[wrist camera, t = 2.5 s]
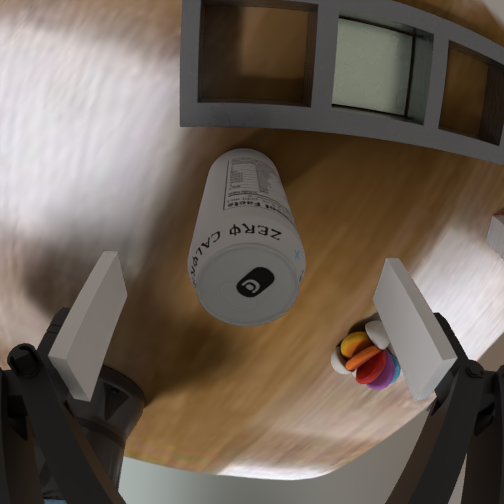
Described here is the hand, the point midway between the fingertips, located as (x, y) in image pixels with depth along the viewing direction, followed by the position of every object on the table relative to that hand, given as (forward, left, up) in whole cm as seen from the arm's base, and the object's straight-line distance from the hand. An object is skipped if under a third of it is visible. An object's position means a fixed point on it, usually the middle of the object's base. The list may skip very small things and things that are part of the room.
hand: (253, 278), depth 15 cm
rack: (+10, +11, -14) cm, 20 cm away
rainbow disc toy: (+17, -22, -15) cm, 31 cm away
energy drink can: (0, 0, -15) cm, 15 cm away
